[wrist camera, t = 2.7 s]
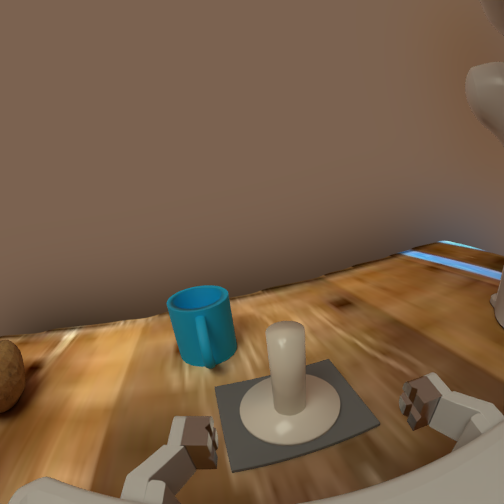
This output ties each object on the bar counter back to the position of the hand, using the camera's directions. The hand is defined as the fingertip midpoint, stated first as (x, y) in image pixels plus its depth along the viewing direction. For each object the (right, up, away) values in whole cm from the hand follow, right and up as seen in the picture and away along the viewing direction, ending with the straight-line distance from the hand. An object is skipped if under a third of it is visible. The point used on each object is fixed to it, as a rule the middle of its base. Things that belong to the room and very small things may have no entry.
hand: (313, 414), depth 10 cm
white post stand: (+1, -9, +15) cm, 18 cm away
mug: (-8, -8, +27) cm, 29 cm away
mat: (+1, -10, +15) cm, 18 cm away
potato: (-37, -15, +14) cm, 42 cm away
